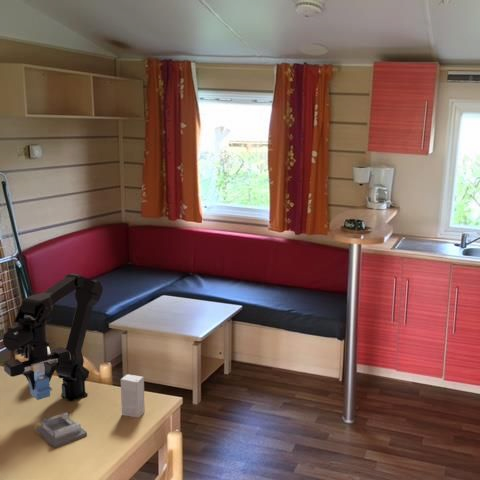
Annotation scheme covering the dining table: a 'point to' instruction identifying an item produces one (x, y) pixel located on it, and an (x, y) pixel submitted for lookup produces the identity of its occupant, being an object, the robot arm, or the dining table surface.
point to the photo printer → (40, 366)
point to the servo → (41, 386)
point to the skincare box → (132, 395)
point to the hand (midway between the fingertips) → (39, 387)
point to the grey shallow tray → (60, 430)
